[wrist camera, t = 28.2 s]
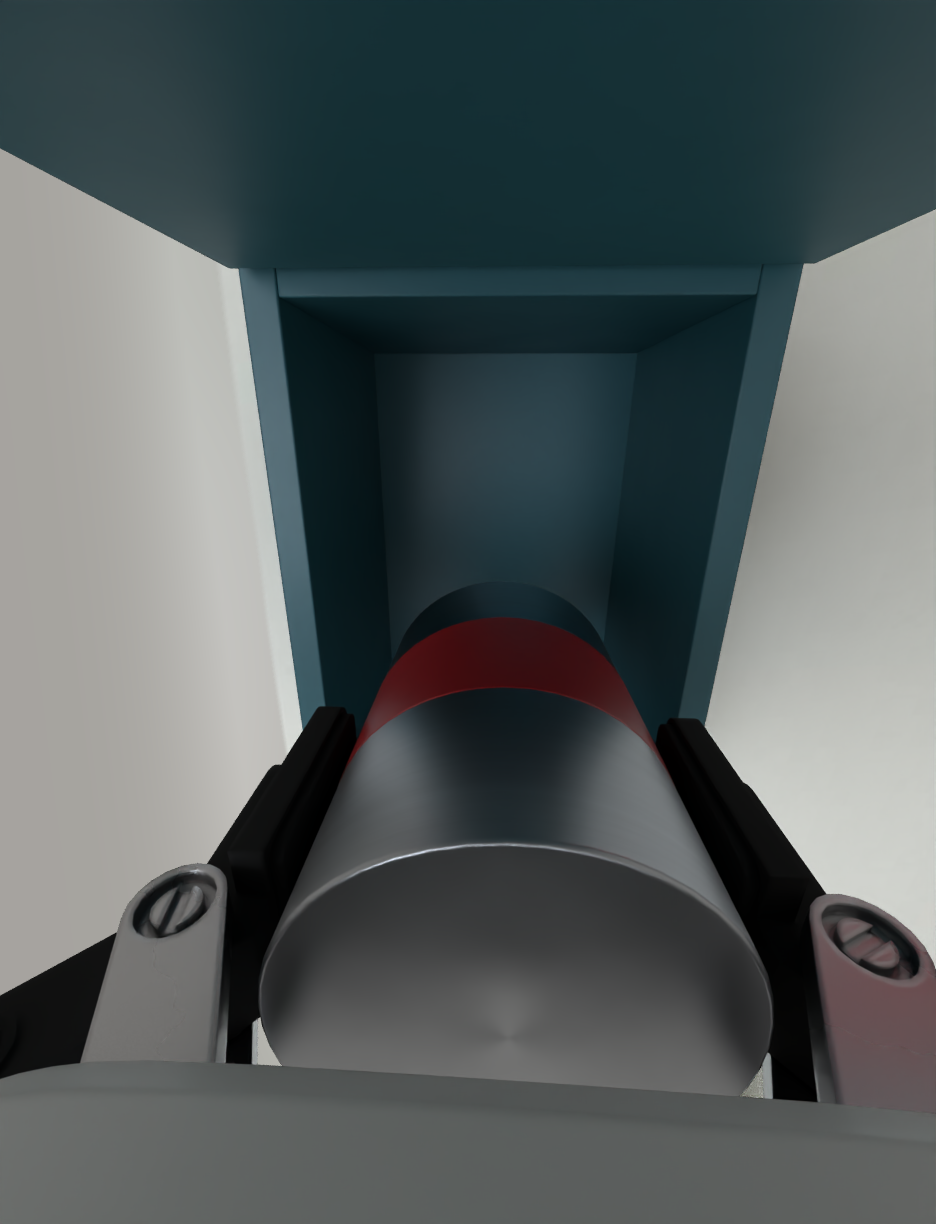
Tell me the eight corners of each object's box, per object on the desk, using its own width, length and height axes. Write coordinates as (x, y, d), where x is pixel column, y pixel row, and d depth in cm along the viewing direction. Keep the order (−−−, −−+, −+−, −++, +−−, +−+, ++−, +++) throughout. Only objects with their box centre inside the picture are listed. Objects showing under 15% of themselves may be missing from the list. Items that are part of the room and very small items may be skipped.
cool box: (603, 737, 25) (665, 912, 16) (384, 729, 26) (325, 896, 17) (655, 332, 19) (807, 247, 10) (357, 333, 19) (235, 253, 10)
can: (455, 538, 13) (383, 742, 5) (655, 646, 14) (905, 989, 5) (358, 716, 15) (191, 1077, 7) (537, 801, 16) (584, 1216, 8)
